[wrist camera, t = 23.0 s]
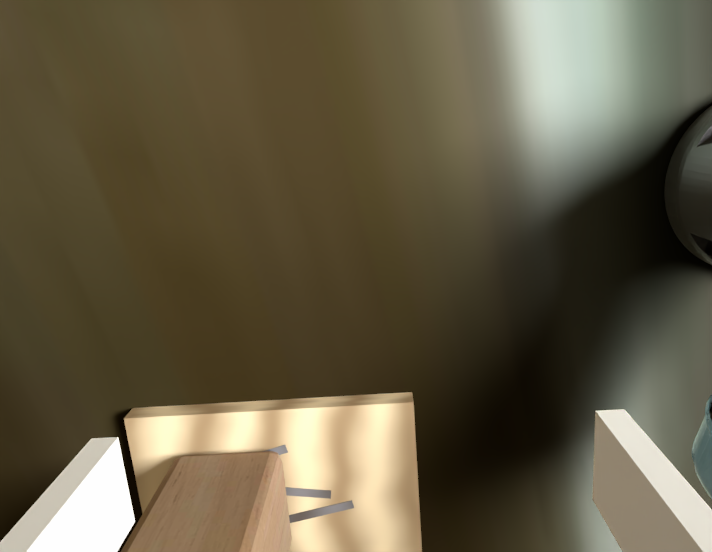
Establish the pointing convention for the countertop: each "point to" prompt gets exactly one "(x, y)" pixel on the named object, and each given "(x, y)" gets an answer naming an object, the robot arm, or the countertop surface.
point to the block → (217, 506)
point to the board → (304, 462)
